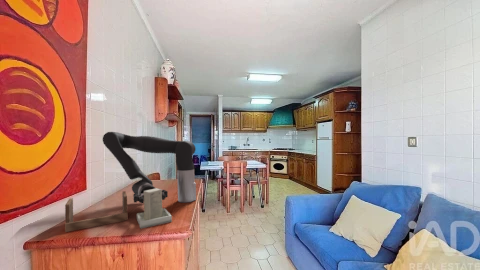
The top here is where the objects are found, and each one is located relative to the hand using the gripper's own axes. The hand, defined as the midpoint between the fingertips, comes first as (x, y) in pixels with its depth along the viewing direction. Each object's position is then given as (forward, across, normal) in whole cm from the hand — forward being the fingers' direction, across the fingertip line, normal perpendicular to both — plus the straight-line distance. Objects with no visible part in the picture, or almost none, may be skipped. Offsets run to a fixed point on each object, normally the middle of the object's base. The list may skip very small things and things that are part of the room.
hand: (153, 199), depth 94 cm
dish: (+1, 0, +9) cm, 9 cm away
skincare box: (+1, 0, +8) cm, 8 cm away
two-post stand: (-12, -20, +9) cm, 25 cm away
